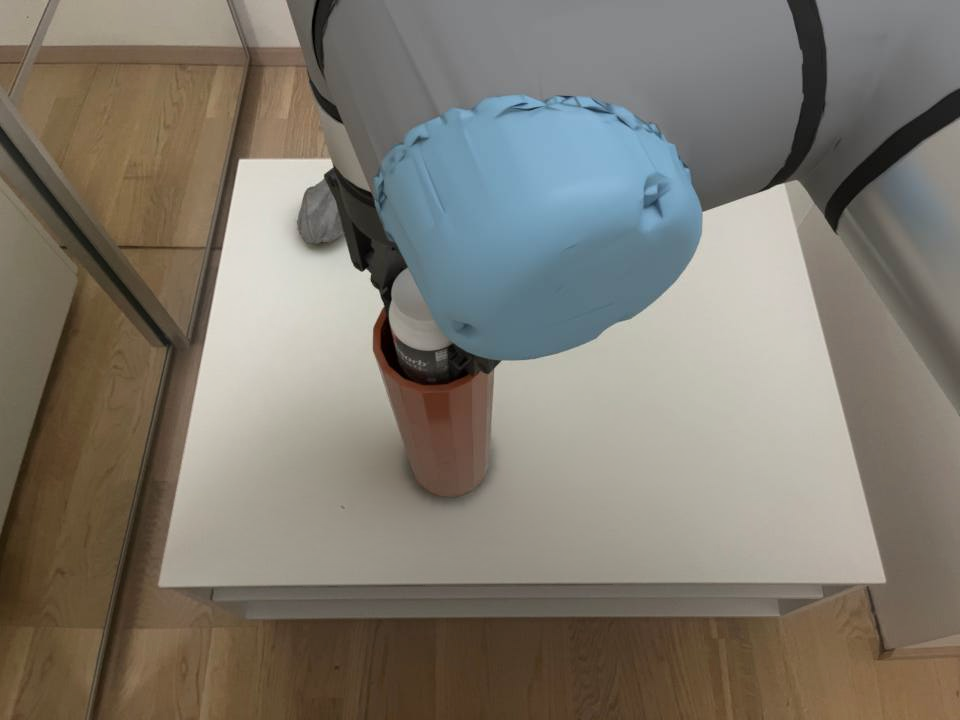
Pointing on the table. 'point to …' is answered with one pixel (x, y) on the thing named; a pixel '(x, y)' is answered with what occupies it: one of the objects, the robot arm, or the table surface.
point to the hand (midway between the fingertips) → (436, 352)
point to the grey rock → (319, 215)
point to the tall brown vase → (438, 421)
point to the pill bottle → (417, 334)
